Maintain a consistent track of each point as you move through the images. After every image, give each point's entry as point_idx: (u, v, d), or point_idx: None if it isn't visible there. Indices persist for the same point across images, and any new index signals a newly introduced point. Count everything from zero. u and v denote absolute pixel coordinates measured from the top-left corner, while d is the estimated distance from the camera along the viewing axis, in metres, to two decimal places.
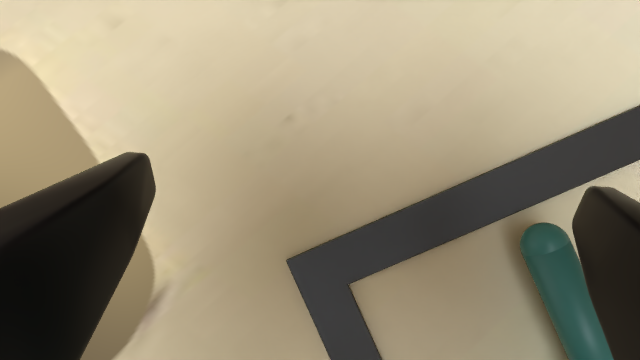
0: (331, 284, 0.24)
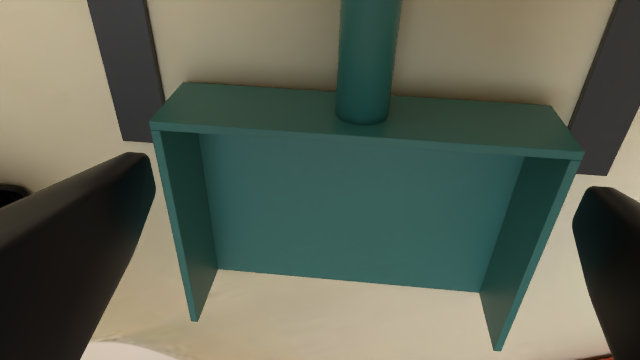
0: None
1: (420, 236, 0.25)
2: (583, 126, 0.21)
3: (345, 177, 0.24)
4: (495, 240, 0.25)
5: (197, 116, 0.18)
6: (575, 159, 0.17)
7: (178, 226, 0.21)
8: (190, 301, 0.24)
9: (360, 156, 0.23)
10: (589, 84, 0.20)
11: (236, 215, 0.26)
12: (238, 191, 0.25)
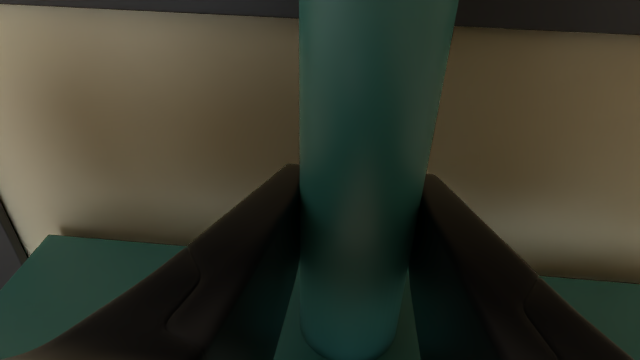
0: None
1: None
2: None
3: None
4: None
5: (36, 344, 0.10)
6: None
7: None
8: None
9: None
10: None
11: None
12: None
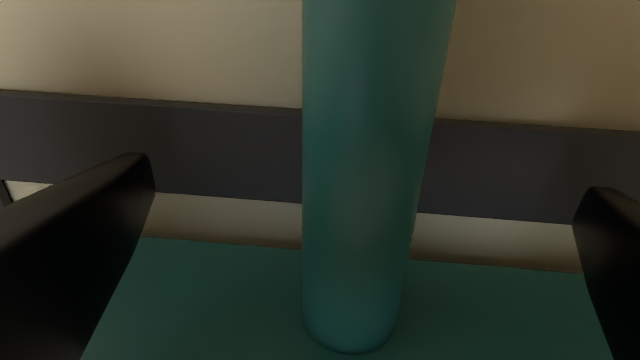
0: None
1: None
2: None
3: None
4: None
5: None
6: None
7: None
8: None
9: None
10: None
11: None
12: None
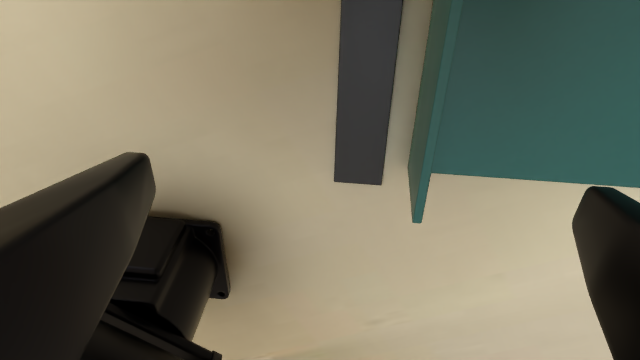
0: None
1: None
2: None
3: (631, 28, 0.18)
4: None
5: None
6: None
7: (449, 74, 0.16)
8: (422, 193, 0.19)
9: None
10: None
11: (463, 91, 0.20)
12: (477, 56, 0.19)
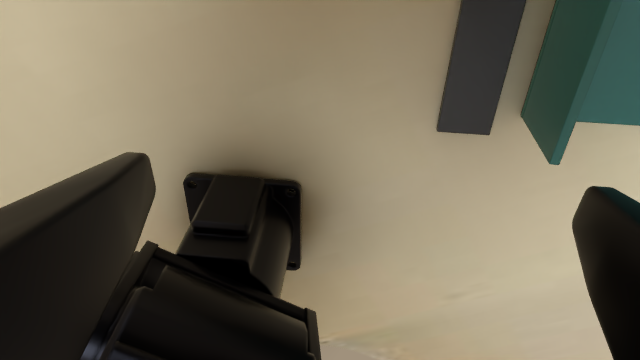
0: None
1: None
2: None
3: None
4: None
5: None
6: None
7: None
8: (569, 127, 0.17)
9: None
10: None
11: None
12: None
